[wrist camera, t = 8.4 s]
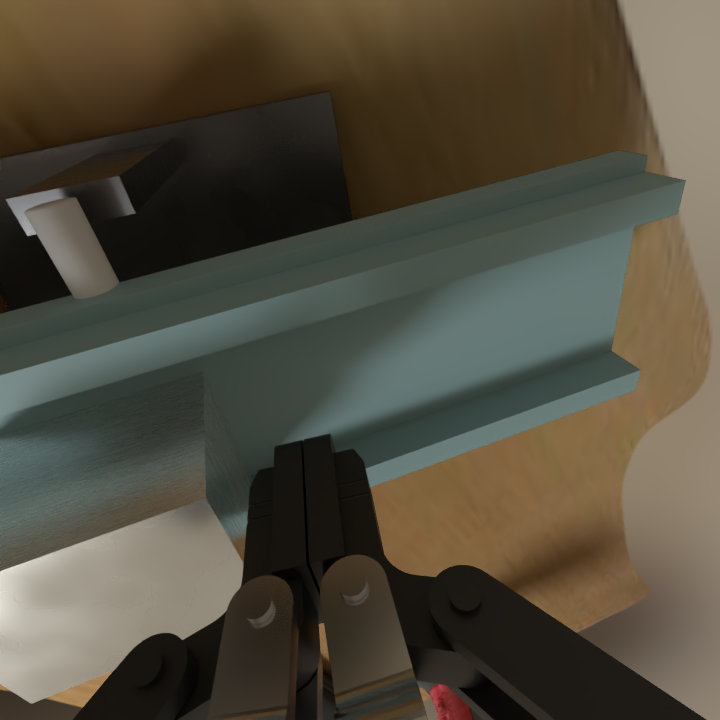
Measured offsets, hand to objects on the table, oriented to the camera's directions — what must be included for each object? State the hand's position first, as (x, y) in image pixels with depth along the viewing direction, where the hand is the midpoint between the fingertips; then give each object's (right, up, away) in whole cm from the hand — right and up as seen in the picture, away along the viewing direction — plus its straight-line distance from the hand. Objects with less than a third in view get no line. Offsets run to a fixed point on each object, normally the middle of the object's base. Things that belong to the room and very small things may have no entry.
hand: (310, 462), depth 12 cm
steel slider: (-6, 0, +2) cm, 6 cm away
